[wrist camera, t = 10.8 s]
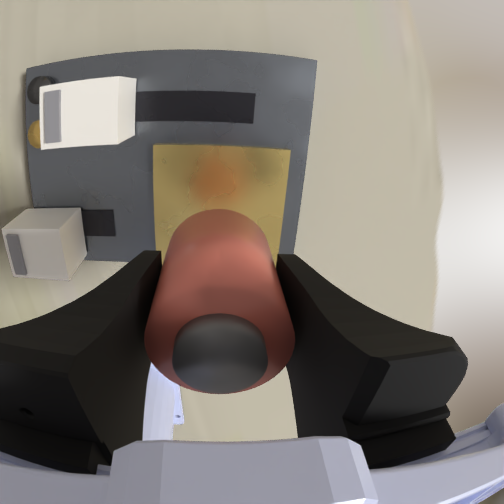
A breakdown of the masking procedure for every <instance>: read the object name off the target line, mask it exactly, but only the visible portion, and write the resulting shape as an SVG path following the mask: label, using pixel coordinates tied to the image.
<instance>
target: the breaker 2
mask: <svg viewBox="0 0 504 504" xmlns="http://www.w3.org/2000/svg"><path fill="white" fill-rule="evenodd" d="M135 102H136V78H129V77H122V76H114V77H104V78H95V79H86V80H79V81H72V82H65V83H59V84H53V85H47V86H42V87H40V141H41V150H44V149H54V148H65V147H78V146H93V145H113V144H119V143H121V142H123V141H125V140H127V139H128V138H130V137H132V136H134V135H135Z"/></svg>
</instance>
